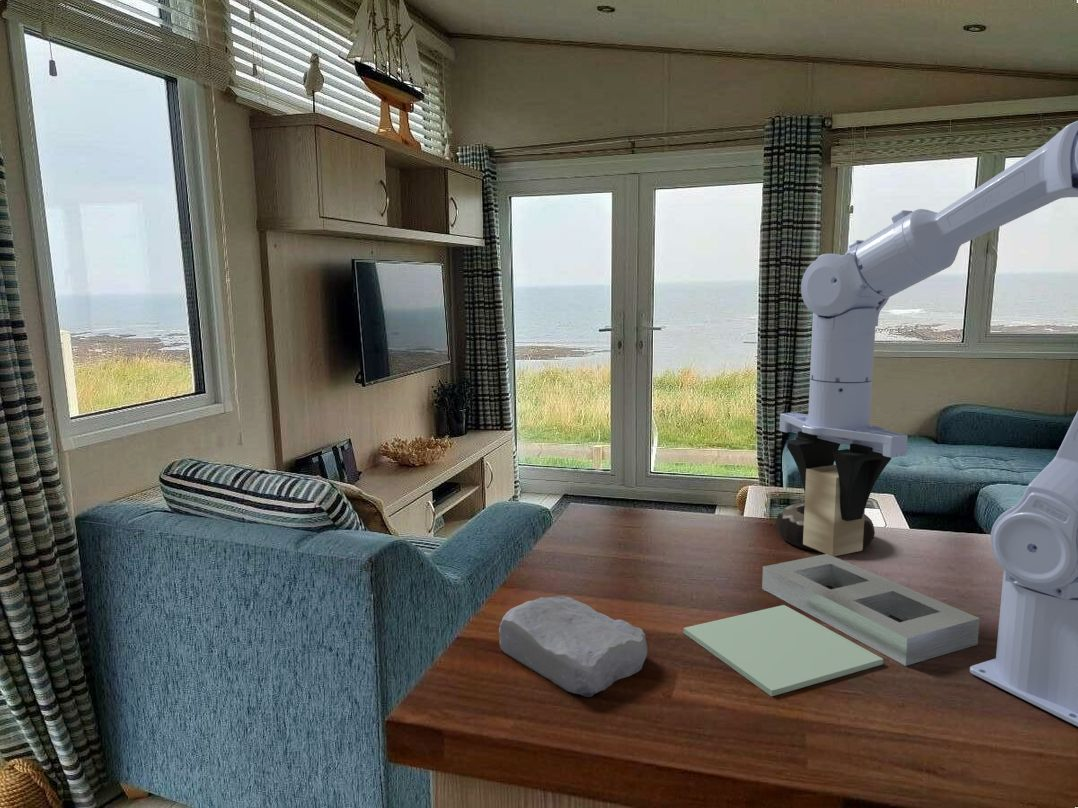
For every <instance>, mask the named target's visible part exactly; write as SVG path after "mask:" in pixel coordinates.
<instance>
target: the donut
mask: <svg viewBox="0 0 1078 808" xmlns="http://www.w3.org/2000/svg"><path fill="white" fill-rule="evenodd" d="M804 509H805V501H804V502H803V501H802V502H797V503H793V504H790V505H787V506H786V507H784V508H783V509H782V510H780V511H779V513H778V514H777V517H776V522H775V526H776V527H775V528H776V531H777V533H778V534H779V535H780V537H781V538H782V539H783V540H784V541H786V542H788V543H789V544H791V545H793V546H796V547H797V548H800V549H804V550H808V551H812V552H819V553H821V552H820V551H818V550H816V549H813V548H811V547H809V546H806V545H804V544H803V532H804ZM875 532H876V530H875V526H874V523H873V520H871V518H870V517H869V516H868V515H867V514H865V515H864V533H863V549H865V548H866V547H868V546H869V545H870V544H871V542H872V541H873V539H874V538H875V534H876V533H875Z"/></svg>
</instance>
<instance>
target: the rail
mask: <svg viewBox="0 0 1078 808" xmlns="http://www.w3.org/2000/svg"><path fill="white" fill-rule="evenodd" d="M761 580H762V581H761V582H762V583H761V589H762V590H763V591H766V592H767V593H770V594H771V595H773V596H774V597H777V598H778V599H780V600H782V601H784V602H785V603H788V604H789V605H791V606H793V607H795V608H797V609H798V610H800V611H802V612H805V613H806V614H808V615H810V616H812V617H814V618H816V619H817V620H820V621H821V622H823V623H825V624H827V625H828V626H830V627H832V628H834V629H835V630H838V631H839V632H841V633H844V634H845V635H847V636H848V637H851V638H853V639H854V640H856V641H858V642H859V643H860V642H861V643H862V644H864V645H866V646H868V647H870V648H871V649H873V650H874V651H876V652H879V653H880V654H883V655H885V656H886V657H888V658H890V659H892V660H894V661H895V662H897V663H899V664H901V665H902V666H905V667H907V666H910V665H914V664H916V663H920V662H924V661H927V660H929V659H930V660H931V659H933V658H938V657H942V656H944V655H947V654H950V653H954V652H958V651H961V650H965V649H968V648H970V647H974V646H978V643H979V633H980V622H981V621H980V619H981V618H980V617H978V616H975V615H974V614H970V613H968V612H966V611H964V610H961V609H959V608H957V607H954V606H951V605H949V604H947V603H944V602H942V601H940V600H937V599H935V598H933V597H930V596H928V595H925V594H924V593H921V592H919V591H916V590H915V589H911V588H909V587H907V586H904V585H903V584H900V583H897V582H895V581H893V580H890V579H888V578H885V577H884V576H881V575H879V574H876V573H873V572H871V571H869V570H868V569H867V570H866V569H864V568H863V567H860V566H857V565H855V564H853V563H850V562H847V561H845V560H843V559H841V558H838V557H837V556H833V557H832V556H830V555H828V554H825V553H823V554H818V555H814V556H809V557H804V558H798V559H795V560H789V561H784V562H779V563H774V564H769V565H763V566H762V579H761ZM828 587H831V589H830V588H828ZM890 616H893V617H895V618H897V619H899V620H901V621H900V622H899V621H897V620H895V619H893V618H891V617H890Z"/></svg>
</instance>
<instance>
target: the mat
mask: <svg viewBox="0 0 1078 808" xmlns="http://www.w3.org/2000/svg"><path fill="white" fill-rule="evenodd" d="M683 634H684V635H686V636H687V637H688V638H690V639H691V640H693V641H694V642H695V643H697V644H698V645H700V646H701V647H703V648H704V649H705V650H706V651H707V652H709V653H710V654H712V655H714V657H716V658H718V659H719V660H720V661H721V662H723V663H724V664H725V665H727V666H729V667H730V668H732V669H733V670H734V671H736V672H737V673H738V674H739V675H741V676H742V677H744V678H745V679H746V680H748V681H749V682H751V683H752V684H753V685H755V686H756V687H758V688H759V689H760V690H762V691H763V692H765V693H766V694H767V695H769V696H770V697H774V696H778V695H781V694H786V693H788V692H792V691H795V690H799V689H802V688H803V689H804V688H805V687H810V686H812V685H816V684H820V683H824V682H826V681H830V680H833V679H837V678H840V677H844V676H849V675H851V674H853V673H854V674H855V673H858V672H861V671H865V670H868V669H872V668H875V667H879V666H881V665H883V664H884V658H882V657H880V656H878V655H877V654H875V653H873V652H871V651H869V650H868V649H866V648H864V647H862V646H860V645H858V644H857V643H855V642H853V641H851V640H850V639H848V638H846V637H844V636H842V635H840V634H838V633H837V632H835V631H833V630H832V629H829V628H827V627H825V626H823V625H822V624H820V623H818V622H816V621H815V620H813V619H811V618H810V617H808V616H806V615H804V614H802V613H800V612H798V611H796V610H795V609H792V608H790V607H789V606H787V605H785V604H781V605H778V606H777V605H776V606H773V607H769V608H763V609H760V610H757V611H751V612H748V613H747V612H746V613H744V614H743V613H742V614H738V615H735V616H734V615H733V616H730V617H725V618H721V619H718V620H717V619H716V620H713V621H708V622H703V623H698V624H695V625H690V626H686V627H683Z"/></svg>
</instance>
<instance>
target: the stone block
mask: <svg viewBox="0 0 1078 808" xmlns="http://www.w3.org/2000/svg"><path fill="white" fill-rule="evenodd" d="M498 633H499V648H500V650H501V651H502V652H503V653H504V654H506V655H507V656H509V657H510V658H513V659H514V660H515V661H517V662H519V663H520V664H521V665H522V664H523V665H524V666H525V667H526V668H528V669H531V670H532V671H534V672H535V673H537V674H539V675H540V676H542V677H544V678H545V679H547V680H549V681H551V682H552V683H554V685H556V686H558V687H559V688H561V689H563V690H564V691H566V692H568V693H572V694H576V695H580V696H583V697H585V698H592V697H593V696H594V695H595V694H596V695H597V694H598V693H601V692H602V691H605V690H606V689H608V688H609V687H610V686H612V685H613V683H615V682H616V681H618V680H621V679H624V678H627V677H630V676H633V675H634V674H637V673H638V672H640V671H641V670H642V668H643V666H644V663H645V661H646V658H647V655H648V646H647V639H646V634H645V633H644V631H643V629H642V628H640V627H637V626H633V624H630V623H629V622H628V621H626V620H624V619H613V618H612V617H610V616H607V615H606V614H603V613H601V612H598V611H596V610H595V609H594V608H592V607H591V606H589V605H588V604H585V603H583V602H580V601H579V600H576V599H574V598H573V597H568V596H564V595H557V596H550V597H545V596H544V597H543V596H540V597H539V598H536V599H533V600H527V601H525V602H524V603H521V604H519V605H517V606H514V607H512V608H510V609H509V610H508V611H507V612H506V613H505V614H504V616H503V617H502V619H501V622H500V624H499V628H498Z"/></svg>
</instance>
